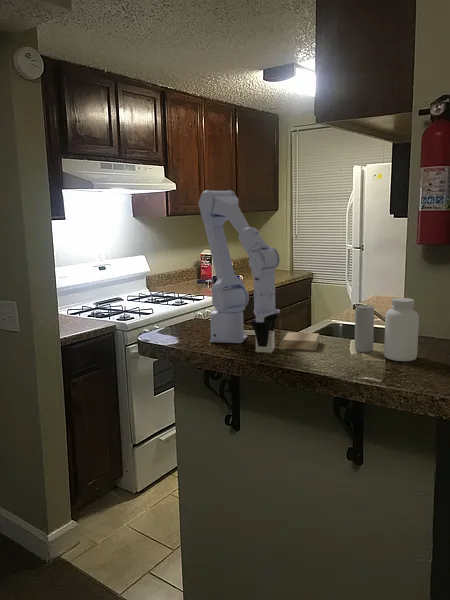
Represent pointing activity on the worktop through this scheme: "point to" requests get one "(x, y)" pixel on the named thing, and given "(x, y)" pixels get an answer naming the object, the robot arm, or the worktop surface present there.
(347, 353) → the worktop surface
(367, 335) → the beverage can
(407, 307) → the pill bottle
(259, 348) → the box
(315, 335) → the maple block
